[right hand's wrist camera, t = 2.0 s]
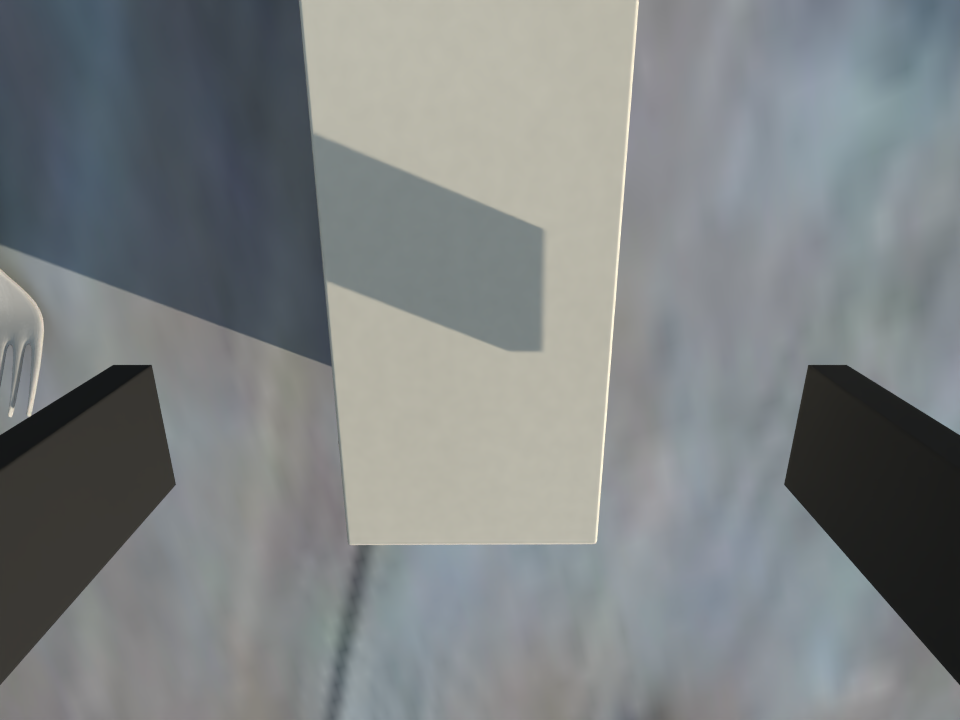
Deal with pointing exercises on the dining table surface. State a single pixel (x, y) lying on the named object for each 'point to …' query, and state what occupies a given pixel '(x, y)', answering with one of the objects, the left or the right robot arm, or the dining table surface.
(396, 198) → the box
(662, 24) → the dining table surface
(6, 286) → the fork
